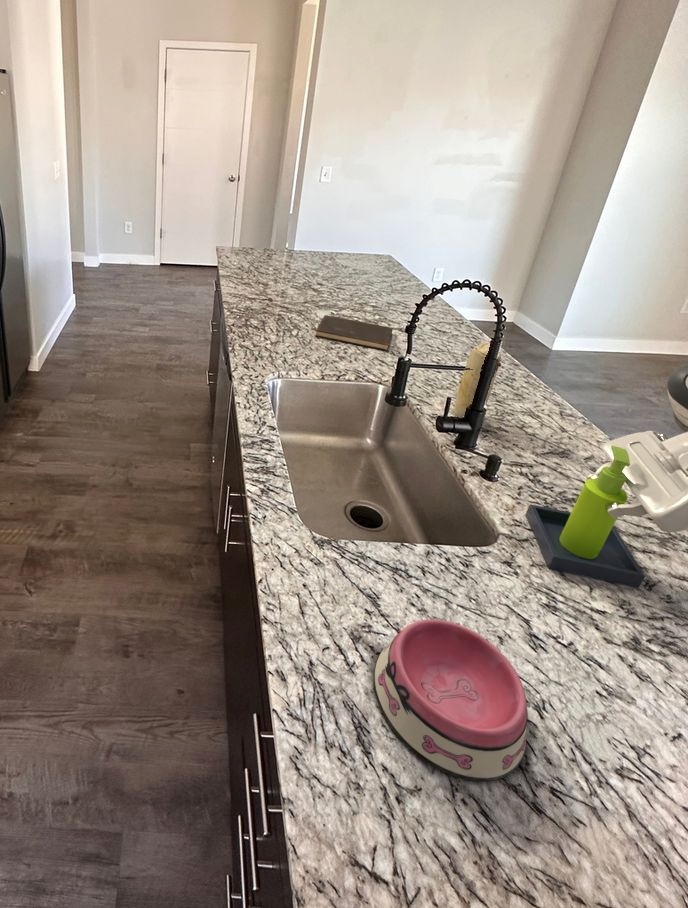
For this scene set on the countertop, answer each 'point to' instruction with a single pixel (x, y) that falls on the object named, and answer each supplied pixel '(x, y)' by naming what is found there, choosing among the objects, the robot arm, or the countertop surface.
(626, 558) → the drip tray
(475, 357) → the food model
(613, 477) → the soap dispenser
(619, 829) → the countertop surface
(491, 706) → the dog bowl
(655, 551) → the countertop surface
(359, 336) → the hardcover book
